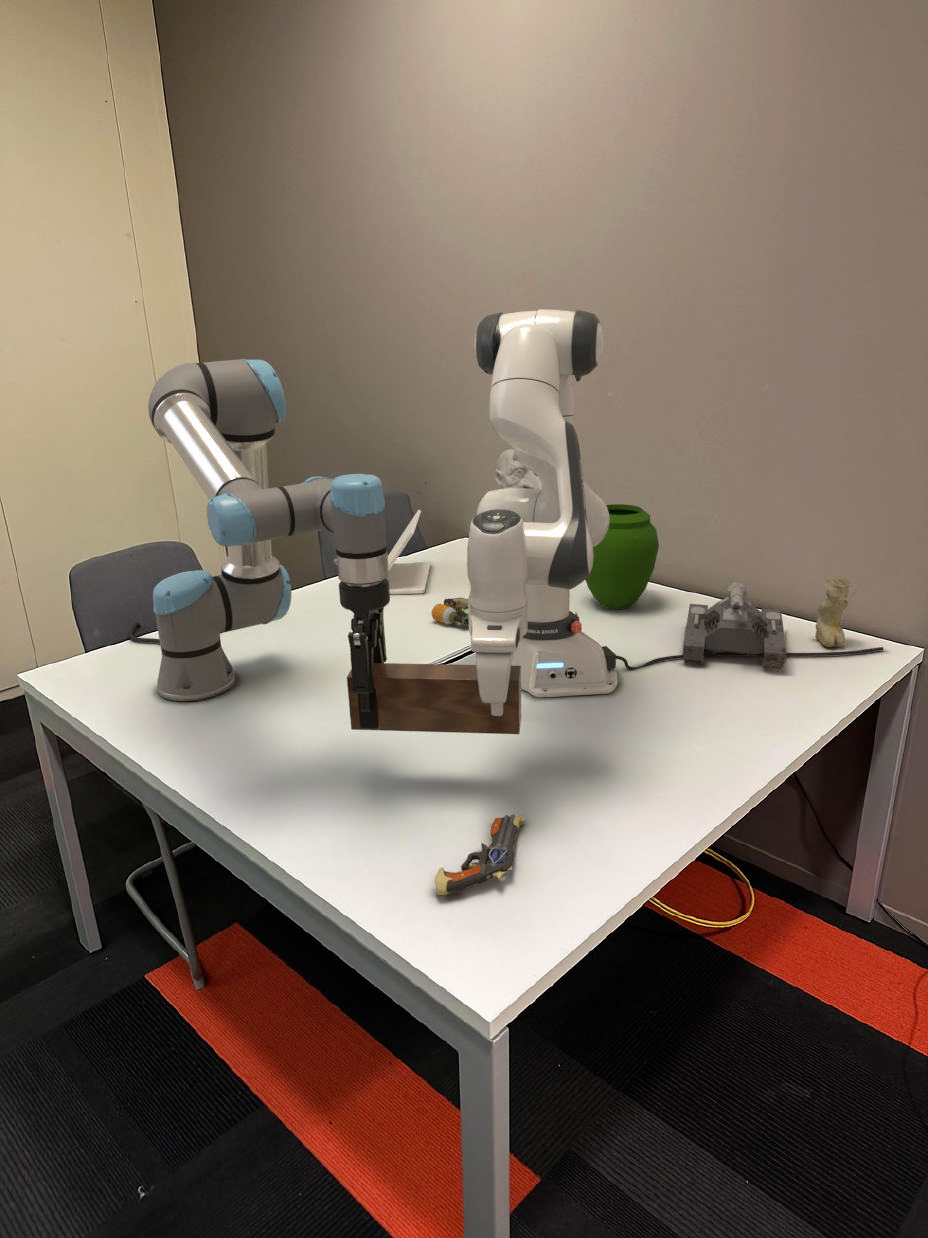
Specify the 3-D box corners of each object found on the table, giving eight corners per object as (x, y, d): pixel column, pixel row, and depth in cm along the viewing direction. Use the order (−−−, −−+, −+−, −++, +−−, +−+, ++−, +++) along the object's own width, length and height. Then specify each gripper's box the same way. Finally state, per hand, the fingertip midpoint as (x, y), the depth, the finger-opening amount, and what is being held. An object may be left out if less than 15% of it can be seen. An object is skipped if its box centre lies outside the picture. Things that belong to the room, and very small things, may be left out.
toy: (688, 623, 201) (692, 562, 195) (778, 630, 195) (785, 567, 190) (681, 666, 178) (686, 598, 173) (783, 675, 172) (791, 605, 167)
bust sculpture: (503, 593, 225) (502, 460, 212) (483, 567, 247) (480, 445, 234) (562, 587, 228) (563, 456, 215) (536, 562, 250) (536, 441, 237)
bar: (521, 717, 136) (520, 665, 133) (519, 734, 131) (518, 680, 128) (359, 713, 139) (355, 662, 136) (351, 729, 134) (346, 677, 131)
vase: (599, 587, 227) (601, 497, 218) (668, 600, 216) (673, 505, 208) (562, 608, 212) (564, 513, 204) (634, 623, 202) (639, 523, 193)
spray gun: (451, 605, 219) (505, 614, 213) (420, 623, 205) (478, 633, 199) (451, 589, 218) (506, 598, 212) (421, 606, 203) (478, 616, 197)
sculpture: (821, 649, 184) (830, 583, 179) (808, 637, 191) (816, 573, 185) (848, 649, 184) (858, 582, 179) (834, 636, 191) (843, 572, 185)
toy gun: (430, 883, 110) (506, 883, 108) (458, 810, 128) (523, 809, 126) (433, 901, 111) (508, 901, 109) (460, 826, 129) (525, 825, 127)
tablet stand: (430, 565, 250) (428, 508, 244) (424, 593, 227) (421, 531, 221) (369, 566, 251) (365, 509, 245) (356, 594, 227) (352, 532, 221)
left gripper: (354, 561, 137) (364, 692, 145) (322, 600, 120) (335, 745, 128) (400, 561, 136) (407, 693, 144) (374, 600, 119) (384, 747, 127)
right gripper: (483, 597, 138) (485, 675, 142) (469, 645, 119) (471, 734, 123) (523, 597, 137) (523, 676, 142) (514, 646, 118) (515, 735, 123)
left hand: (373, 717), depth 136 cm, fingers closed on bar, 6 cm apart
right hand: (499, 703), depth 132 cm, fingers closed on bar, 5 cm apart
